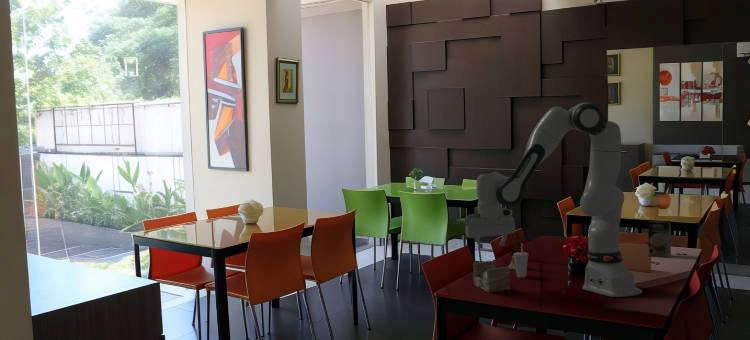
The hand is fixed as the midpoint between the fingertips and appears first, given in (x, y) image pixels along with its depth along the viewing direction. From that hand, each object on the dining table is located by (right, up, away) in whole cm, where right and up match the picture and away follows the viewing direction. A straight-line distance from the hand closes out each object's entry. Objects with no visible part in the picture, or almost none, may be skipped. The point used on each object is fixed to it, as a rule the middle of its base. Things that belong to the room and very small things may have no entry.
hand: (491, 246), depth 259 cm
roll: (0, -13, +1) cm, 13 cm away
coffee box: (+86, -10, +44) cm, 97 cm away
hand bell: (+17, -13, +33) cm, 40 cm away
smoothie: (+16, -15, +17) cm, 27 cm away
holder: (0, -16, +1) cm, 16 cm away
